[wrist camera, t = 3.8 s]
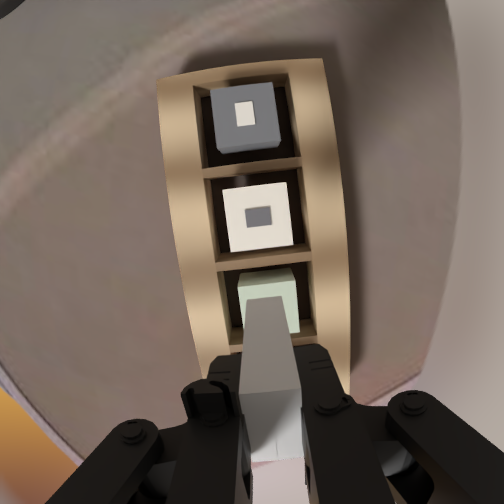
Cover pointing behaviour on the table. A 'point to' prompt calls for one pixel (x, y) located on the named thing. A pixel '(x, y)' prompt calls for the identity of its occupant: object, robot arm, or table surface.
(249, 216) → the cream key
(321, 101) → the keypad frame
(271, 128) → the charcoal key
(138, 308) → the table surface
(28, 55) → the table surface
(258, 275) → the sage key
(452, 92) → the table surface
